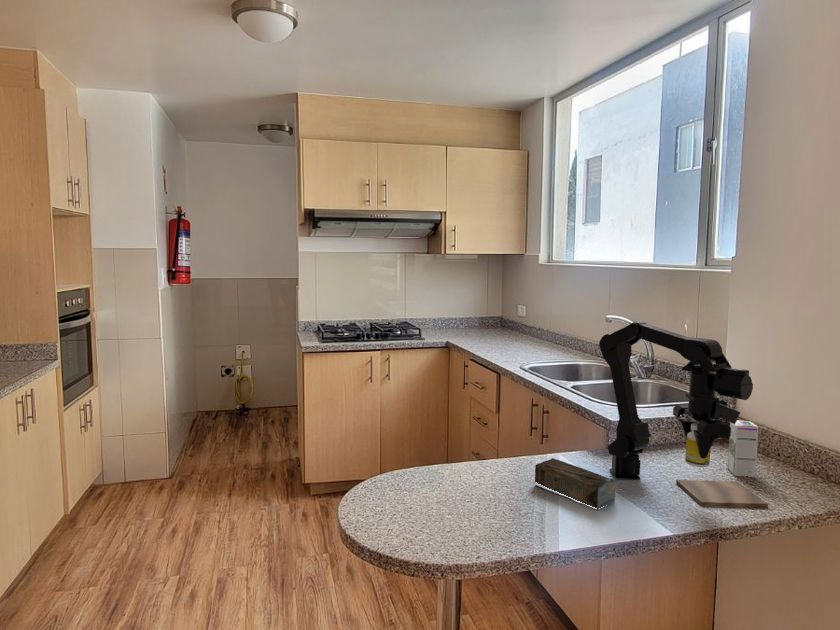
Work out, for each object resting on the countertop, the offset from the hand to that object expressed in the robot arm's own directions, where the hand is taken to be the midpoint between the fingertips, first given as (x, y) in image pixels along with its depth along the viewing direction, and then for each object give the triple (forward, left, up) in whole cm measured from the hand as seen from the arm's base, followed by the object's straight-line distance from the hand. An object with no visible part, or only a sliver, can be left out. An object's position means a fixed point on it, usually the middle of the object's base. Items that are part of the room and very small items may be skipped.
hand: (697, 454), depth 138 cm
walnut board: (+8, +4, -12) cm, 15 cm away
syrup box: (+22, +20, -12) cm, 32 cm away
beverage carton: (-29, +2, -12) cm, 32 cm away
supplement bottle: (0, 0, -3) cm, 3 cm away
